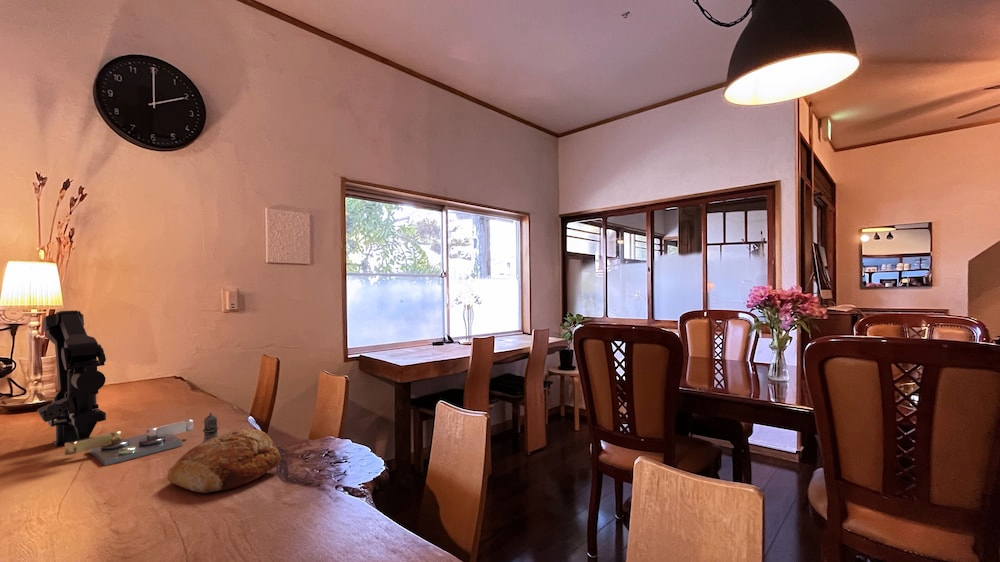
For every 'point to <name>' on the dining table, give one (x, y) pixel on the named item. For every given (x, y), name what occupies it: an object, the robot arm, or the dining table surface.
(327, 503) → the dining table surface
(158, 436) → the silver lever handle
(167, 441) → the plate
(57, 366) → the robot arm
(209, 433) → the salt shaker
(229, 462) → the bread
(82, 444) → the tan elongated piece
